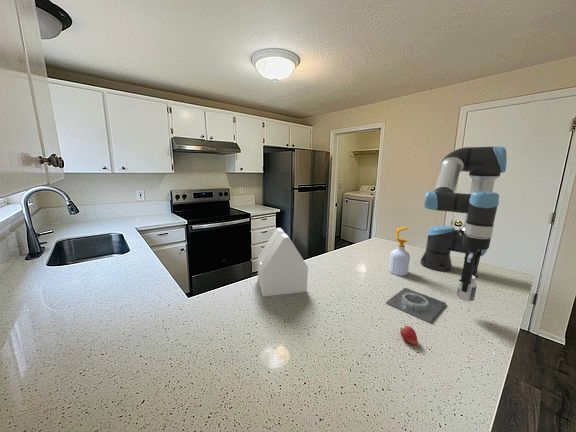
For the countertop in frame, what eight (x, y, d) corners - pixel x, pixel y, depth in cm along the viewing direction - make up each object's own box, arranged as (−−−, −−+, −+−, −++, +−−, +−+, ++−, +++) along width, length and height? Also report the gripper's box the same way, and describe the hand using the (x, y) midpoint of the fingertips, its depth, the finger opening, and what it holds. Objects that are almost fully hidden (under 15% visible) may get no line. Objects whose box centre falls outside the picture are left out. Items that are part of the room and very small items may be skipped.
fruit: (412, 349, 70) (414, 334, 69) (395, 336, 76) (397, 322, 75) (421, 345, 72) (424, 331, 71) (405, 333, 77) (406, 319, 76)
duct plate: (404, 289, 106) (405, 283, 105) (445, 304, 94) (446, 297, 94) (386, 303, 94) (387, 296, 94) (430, 323, 83) (431, 315, 82)
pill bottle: (470, 295, 89) (474, 274, 87) (476, 303, 84) (481, 280, 82) (454, 293, 91) (458, 271, 89) (458, 300, 86) (463, 277, 84)
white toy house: (262, 296, 97) (263, 238, 92) (257, 279, 111) (257, 228, 107) (306, 291, 102) (309, 236, 97) (296, 276, 116) (298, 227, 111)
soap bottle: (409, 276, 119) (416, 229, 114) (390, 274, 120) (396, 228, 116) (404, 269, 127) (410, 225, 122) (387, 267, 129) (392, 224, 124)
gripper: (469, 229, 91) (459, 283, 96) (456, 238, 79) (446, 300, 84) (495, 233, 85) (483, 291, 90) (485, 244, 73) (472, 310, 78)
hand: (465, 295), depth 87 cm, fingers closed on pill bottle, 5 cm apart
